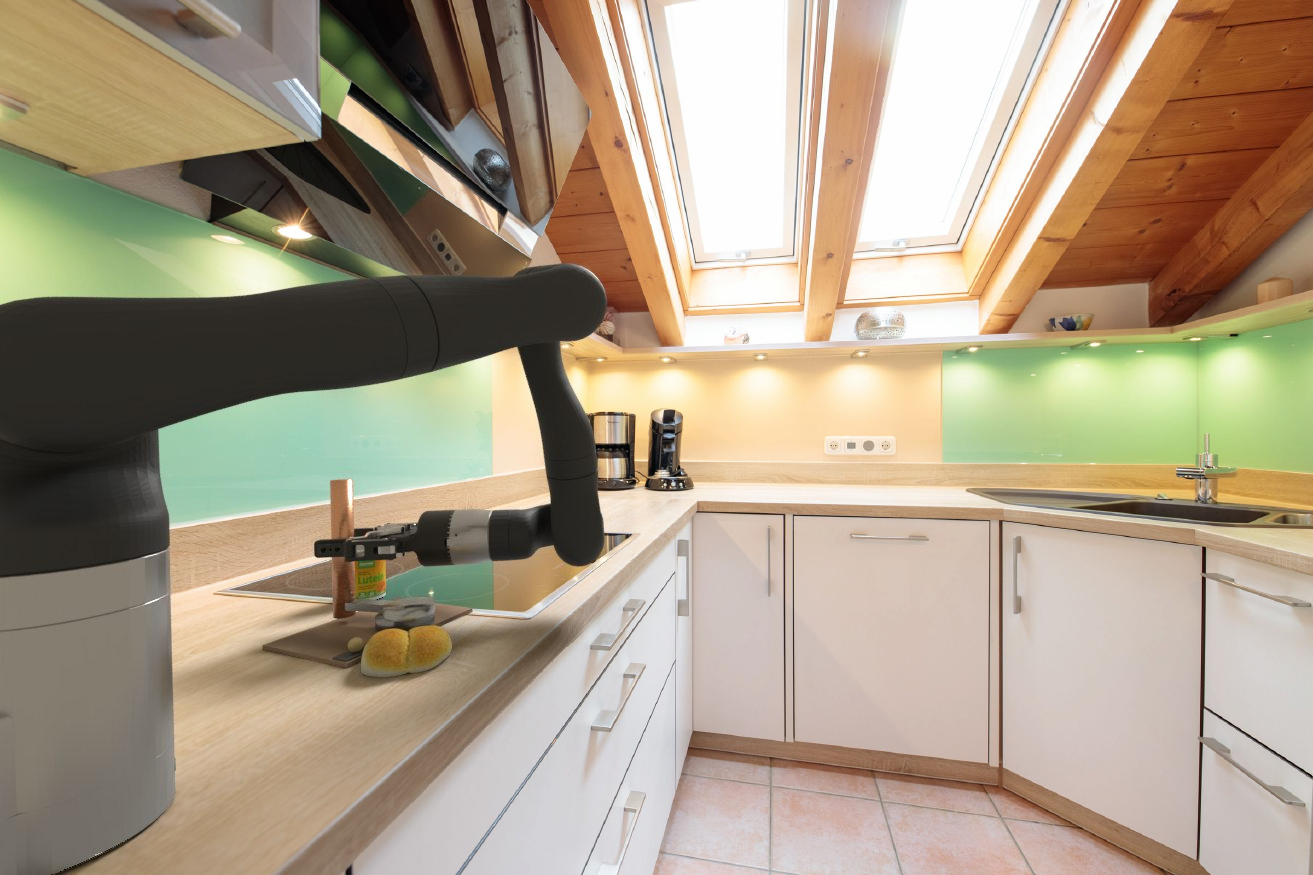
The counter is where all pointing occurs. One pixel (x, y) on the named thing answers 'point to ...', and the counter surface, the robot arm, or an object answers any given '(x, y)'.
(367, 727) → the counter surface
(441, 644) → the bread roll
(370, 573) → the supplement bottle
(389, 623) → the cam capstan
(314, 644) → the stand
